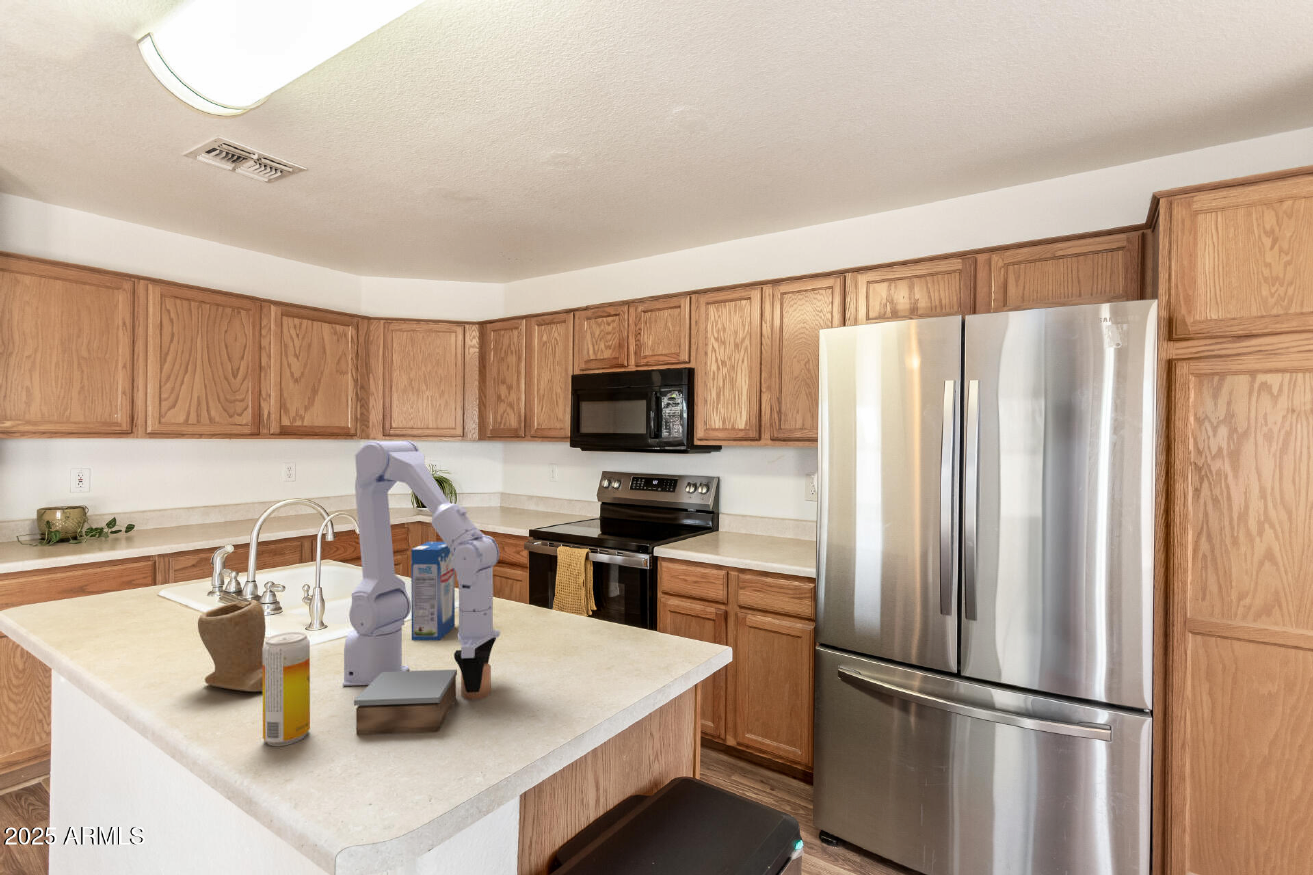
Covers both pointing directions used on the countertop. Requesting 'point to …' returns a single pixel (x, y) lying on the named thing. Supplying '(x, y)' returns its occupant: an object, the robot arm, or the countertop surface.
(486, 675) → the tan rounded cylinder
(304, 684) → the beer can
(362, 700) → the lid
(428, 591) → the milk carton
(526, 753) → the countertop surface
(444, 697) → the box
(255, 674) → the stone cup
